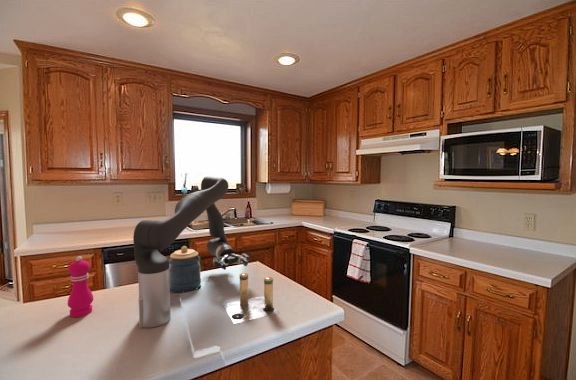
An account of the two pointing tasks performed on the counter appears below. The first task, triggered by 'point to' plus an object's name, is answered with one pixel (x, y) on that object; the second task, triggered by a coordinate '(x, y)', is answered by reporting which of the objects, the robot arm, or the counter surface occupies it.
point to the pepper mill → (80, 289)
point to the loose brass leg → (244, 289)
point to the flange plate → (248, 310)
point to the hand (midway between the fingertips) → (235, 265)
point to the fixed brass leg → (268, 293)
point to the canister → (184, 270)
